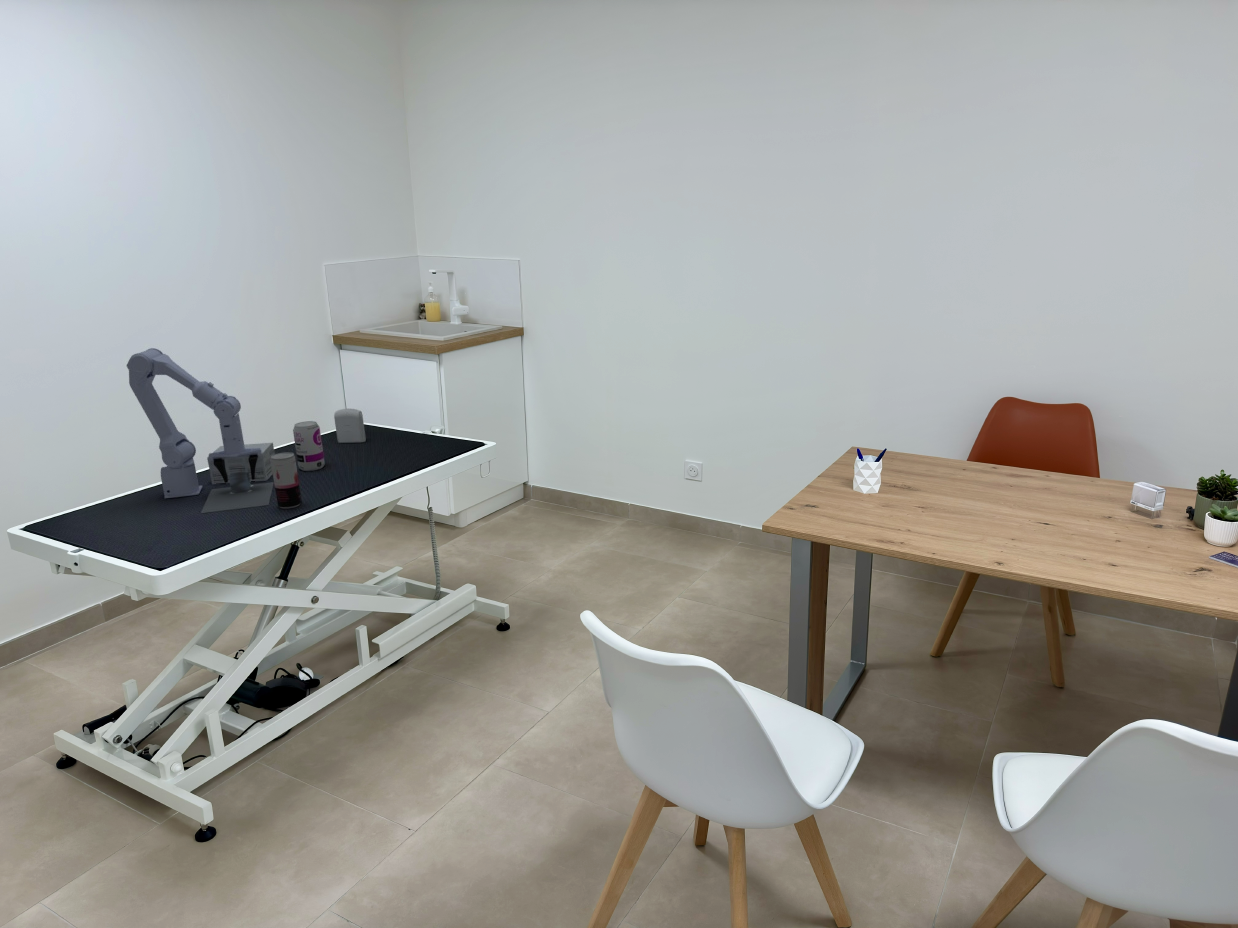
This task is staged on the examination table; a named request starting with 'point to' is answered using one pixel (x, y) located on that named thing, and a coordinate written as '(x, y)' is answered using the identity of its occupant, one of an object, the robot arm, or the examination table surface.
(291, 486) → the beverage can
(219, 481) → the supplement box
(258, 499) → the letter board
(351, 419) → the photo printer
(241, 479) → the slate cube
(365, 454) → the examination table surface
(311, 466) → the supplement can
